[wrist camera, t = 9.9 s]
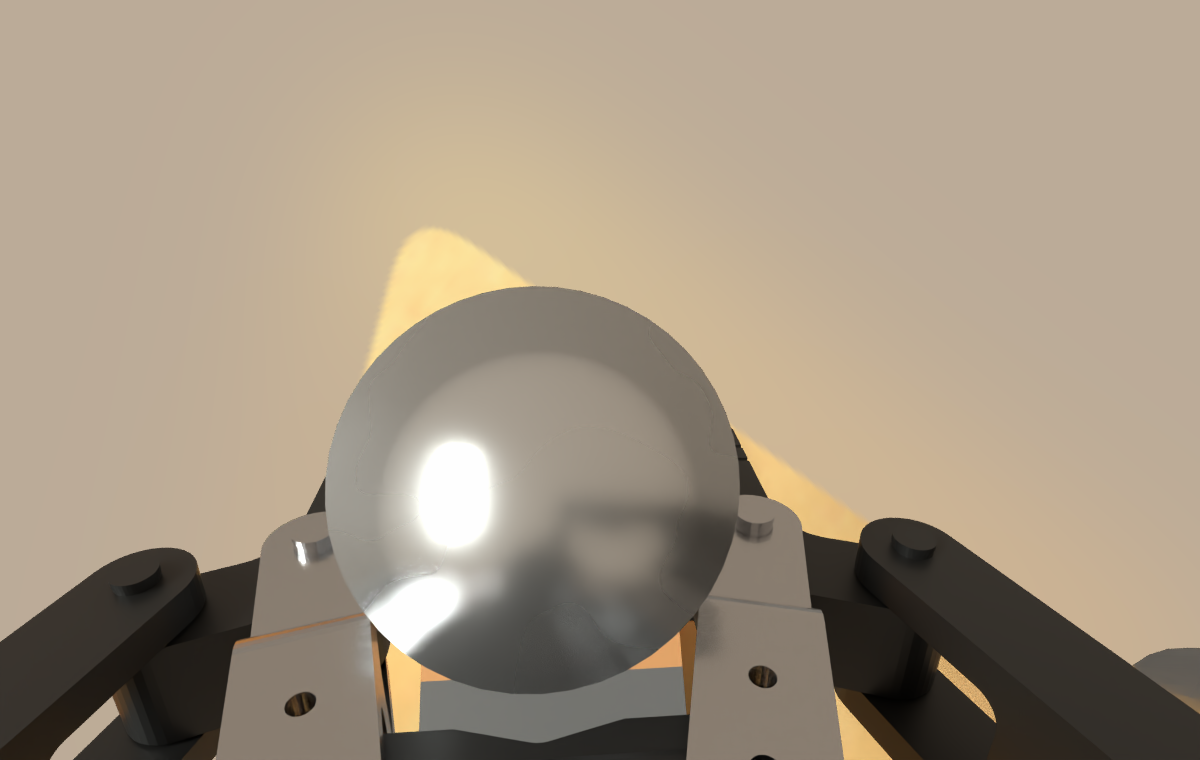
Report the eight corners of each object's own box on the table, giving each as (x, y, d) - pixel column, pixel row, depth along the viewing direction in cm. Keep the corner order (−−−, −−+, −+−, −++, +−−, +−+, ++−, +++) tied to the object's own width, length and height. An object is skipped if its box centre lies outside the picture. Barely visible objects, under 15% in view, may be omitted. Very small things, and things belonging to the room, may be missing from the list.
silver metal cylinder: (621, 495, 19) (716, 283, 8) (631, 655, 18) (764, 679, 6) (470, 501, 19) (340, 289, 7) (468, 664, 17) (306, 708, 6)
